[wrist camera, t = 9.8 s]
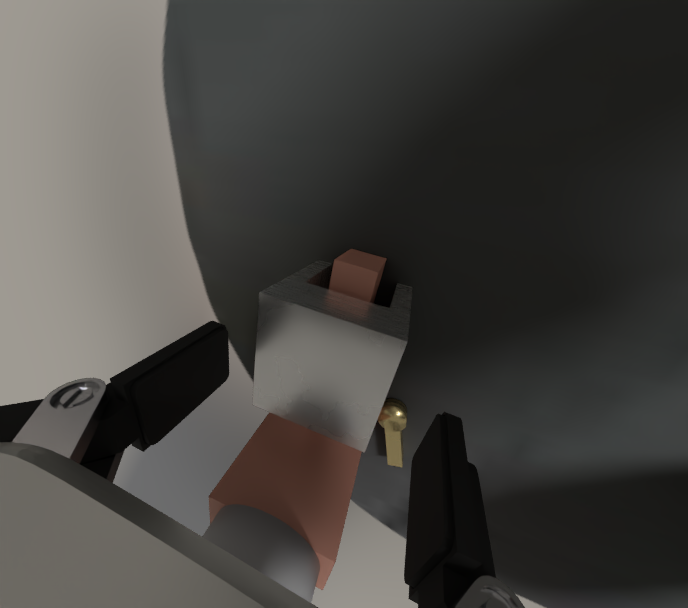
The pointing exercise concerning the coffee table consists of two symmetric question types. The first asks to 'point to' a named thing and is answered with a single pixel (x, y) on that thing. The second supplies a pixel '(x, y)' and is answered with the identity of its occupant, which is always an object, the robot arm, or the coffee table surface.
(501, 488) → the coffee table surface
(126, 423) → the robot arm
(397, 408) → the brass key
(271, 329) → the block
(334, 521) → the brown mallet
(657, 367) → the coffee table surface
